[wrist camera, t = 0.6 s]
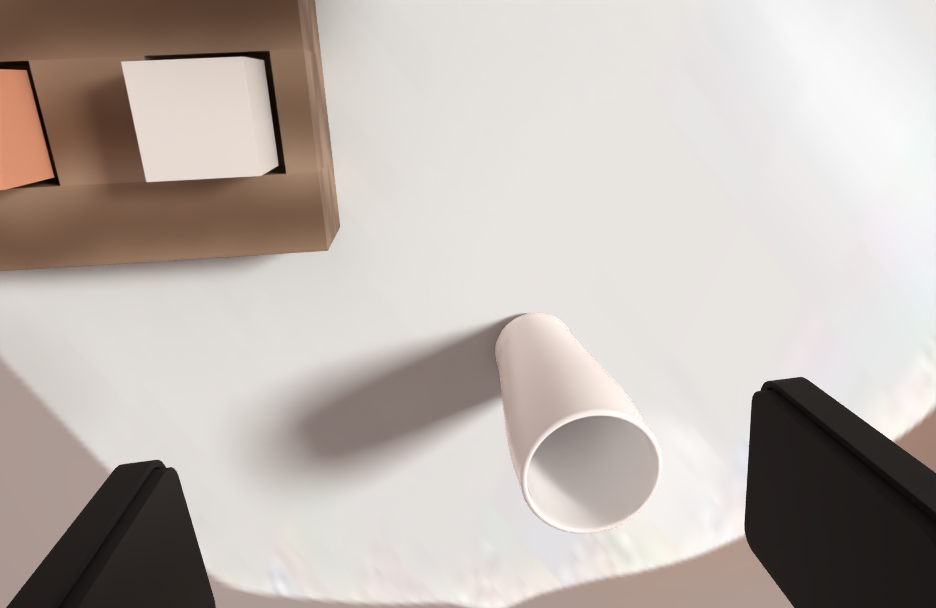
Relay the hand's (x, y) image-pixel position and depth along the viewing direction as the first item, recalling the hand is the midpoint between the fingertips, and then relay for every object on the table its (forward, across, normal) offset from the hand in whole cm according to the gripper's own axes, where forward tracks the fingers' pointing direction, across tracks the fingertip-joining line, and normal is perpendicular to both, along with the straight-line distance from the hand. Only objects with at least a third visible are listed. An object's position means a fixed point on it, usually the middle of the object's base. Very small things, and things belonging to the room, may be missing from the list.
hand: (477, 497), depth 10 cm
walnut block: (+30, +15, -6) cm, 35 cm away
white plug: (+25, +10, -6) cm, 27 cm away
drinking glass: (+31, -6, +11) cm, 33 cm away
